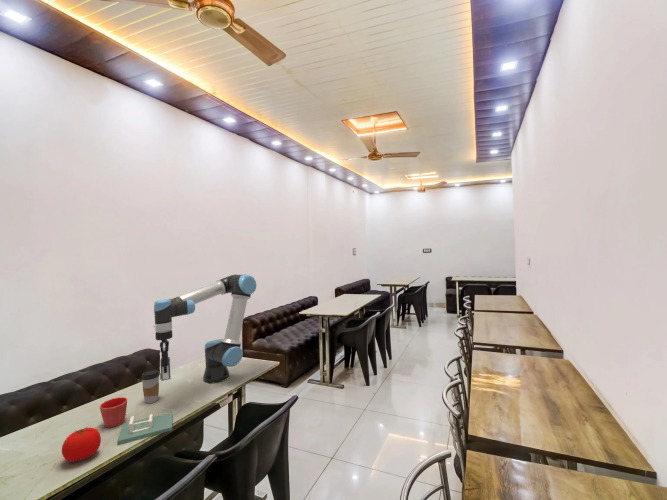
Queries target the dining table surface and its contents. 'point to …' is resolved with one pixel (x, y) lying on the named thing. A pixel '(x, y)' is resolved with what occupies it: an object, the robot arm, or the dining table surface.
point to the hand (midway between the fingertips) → (166, 377)
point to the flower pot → (114, 411)
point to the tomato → (81, 444)
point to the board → (145, 427)
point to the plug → (161, 370)
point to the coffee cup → (150, 386)
